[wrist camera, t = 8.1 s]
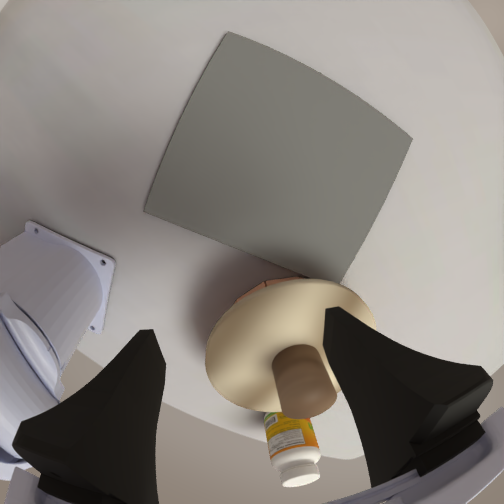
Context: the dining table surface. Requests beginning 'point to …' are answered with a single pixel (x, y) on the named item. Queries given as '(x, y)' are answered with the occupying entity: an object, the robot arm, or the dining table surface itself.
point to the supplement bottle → (292, 448)
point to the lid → (280, 347)
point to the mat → (278, 162)
